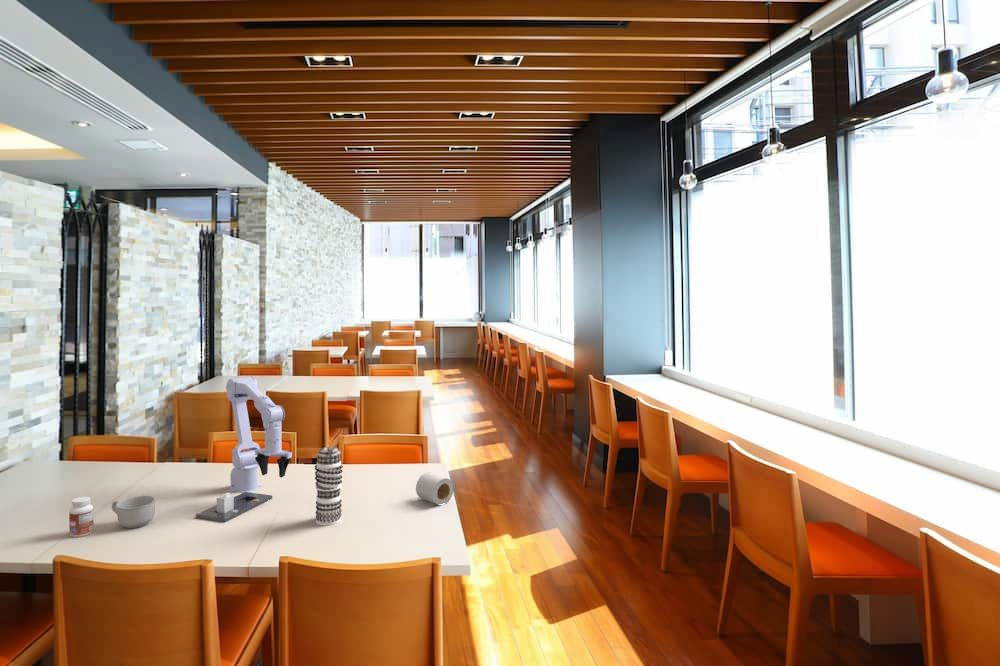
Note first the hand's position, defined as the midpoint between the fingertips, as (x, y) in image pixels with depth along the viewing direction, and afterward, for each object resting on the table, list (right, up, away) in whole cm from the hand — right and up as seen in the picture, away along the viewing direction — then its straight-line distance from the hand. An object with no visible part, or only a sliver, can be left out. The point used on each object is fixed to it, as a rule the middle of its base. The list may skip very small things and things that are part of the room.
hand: (273, 475), depth 211 cm
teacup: (-38, -11, -22) cm, 45 cm away
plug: (-12, -10, -12) cm, 20 cm away
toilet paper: (+59, -11, +5) cm, 60 cm away
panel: (-11, -10, -7) cm, 16 cm away
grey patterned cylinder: (+25, -12, -16) cm, 32 cm away
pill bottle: (-48, -11, -30) cm, 58 cm away
